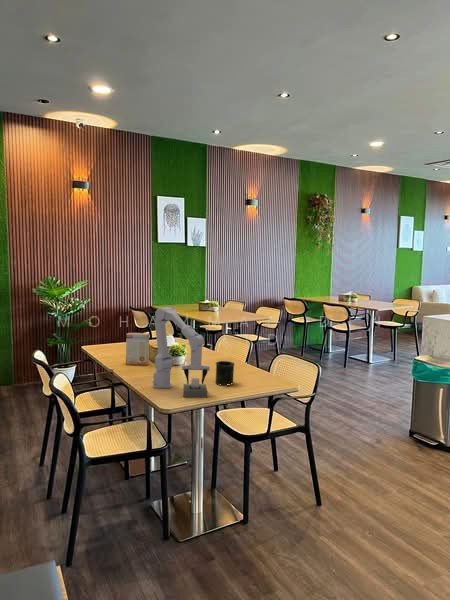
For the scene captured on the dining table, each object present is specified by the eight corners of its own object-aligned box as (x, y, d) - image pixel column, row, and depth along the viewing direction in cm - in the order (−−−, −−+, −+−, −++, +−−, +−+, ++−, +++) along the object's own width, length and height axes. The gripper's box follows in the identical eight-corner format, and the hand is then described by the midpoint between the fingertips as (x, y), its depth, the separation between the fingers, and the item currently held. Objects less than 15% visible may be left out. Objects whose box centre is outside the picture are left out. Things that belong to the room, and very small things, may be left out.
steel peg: (191, 395, 236) (191, 380, 235) (190, 392, 240) (191, 378, 239) (198, 395, 236) (199, 380, 236) (198, 392, 240) (198, 378, 239)
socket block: (183, 397, 231) (183, 390, 231) (183, 390, 243) (183, 384, 243) (206, 397, 232) (207, 390, 232) (205, 390, 244) (205, 384, 244)
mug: (220, 387, 252) (221, 366, 251) (208, 380, 265) (209, 360, 264) (237, 385, 258) (238, 364, 257) (224, 378, 270) (225, 359, 269)
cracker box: (148, 364, 300) (149, 333, 298) (146, 366, 294) (147, 334, 292) (128, 362, 301) (129, 332, 299) (125, 364, 295) (126, 333, 293)
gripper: (182, 359, 231) (181, 385, 233) (210, 360, 233) (209, 385, 234) (182, 356, 238) (181, 381, 240) (209, 357, 240) (208, 382, 241)
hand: (195, 383), depth 237 cm, fingers open, 7 cm apart
